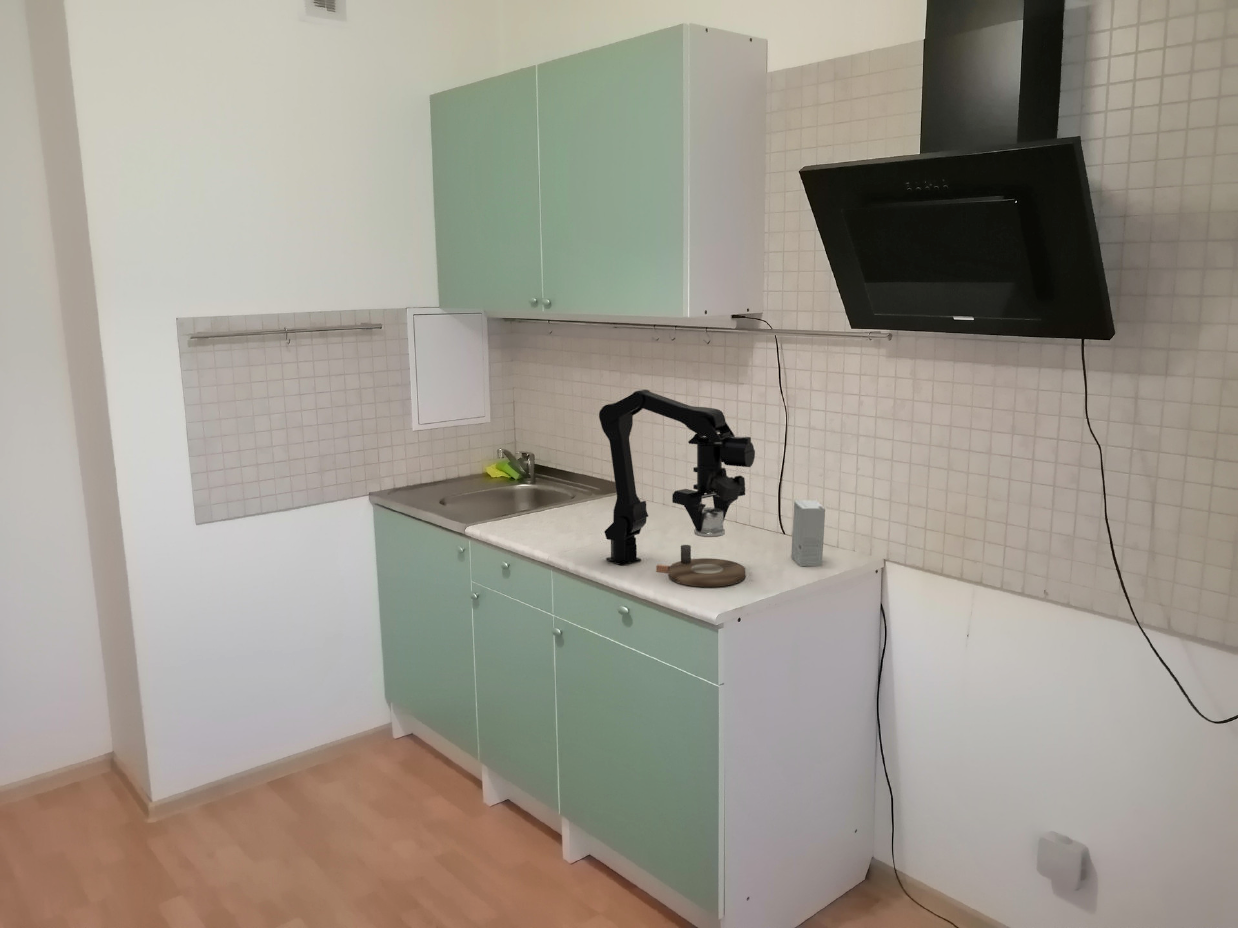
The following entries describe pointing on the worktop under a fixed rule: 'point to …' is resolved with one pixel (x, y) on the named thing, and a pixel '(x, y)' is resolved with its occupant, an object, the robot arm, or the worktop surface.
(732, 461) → the robot arm
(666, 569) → the pointer
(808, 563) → the skincare box
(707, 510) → the cap
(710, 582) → the turntable
